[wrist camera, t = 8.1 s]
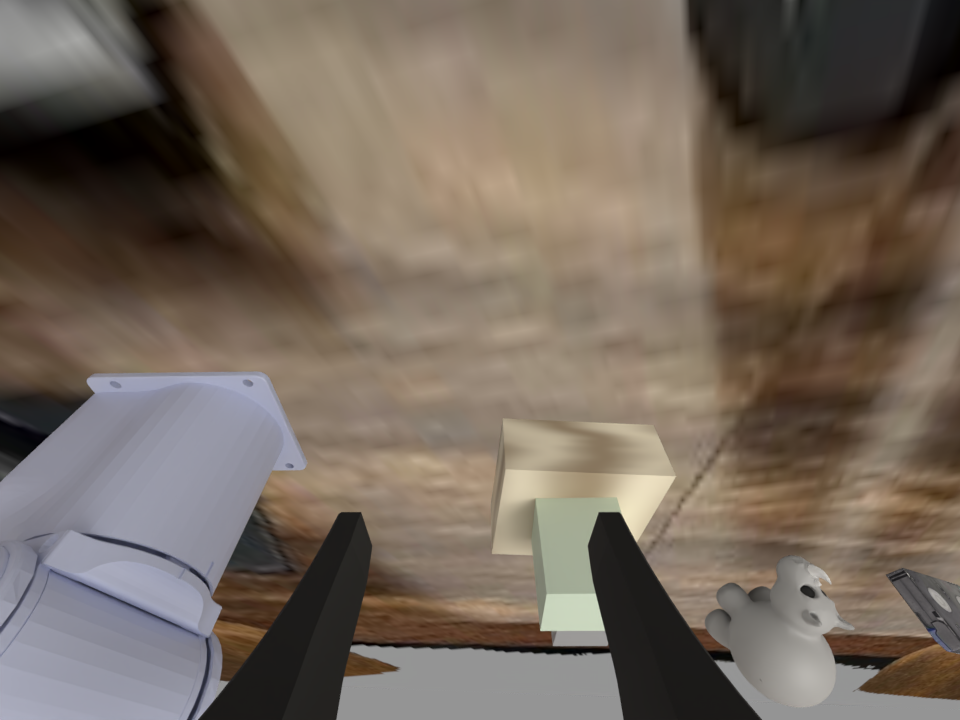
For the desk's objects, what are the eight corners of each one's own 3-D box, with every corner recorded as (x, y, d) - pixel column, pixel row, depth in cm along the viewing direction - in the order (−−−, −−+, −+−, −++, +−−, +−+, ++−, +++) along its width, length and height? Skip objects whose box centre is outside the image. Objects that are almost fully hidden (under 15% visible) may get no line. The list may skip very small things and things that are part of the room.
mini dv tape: (884, 573, 37) (944, 653, 32) (901, 566, 36) (965, 647, 31) (940, 590, 39) (1003, 667, 34) (957, 584, 38) (1025, 662, 33)
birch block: (490, 499, 30) (491, 553, 27) (502, 413, 24) (505, 469, 21) (612, 504, 30) (627, 558, 27) (651, 420, 25) (676, 476, 21)
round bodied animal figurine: (807, 532, 37) (913, 616, 29) (752, 632, 40) (833, 733, 32) (741, 522, 36) (831, 607, 28) (689, 626, 39) (756, 729, 31)
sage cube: (531, 540, 25) (540, 631, 22) (535, 498, 23) (546, 593, 19) (603, 539, 25) (625, 630, 21) (616, 497, 23) (645, 593, 19)
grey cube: (545, 582, 38) (552, 646, 34) (549, 559, 35) (558, 625, 31) (594, 582, 38) (607, 645, 34) (602, 559, 35) (617, 625, 31)
